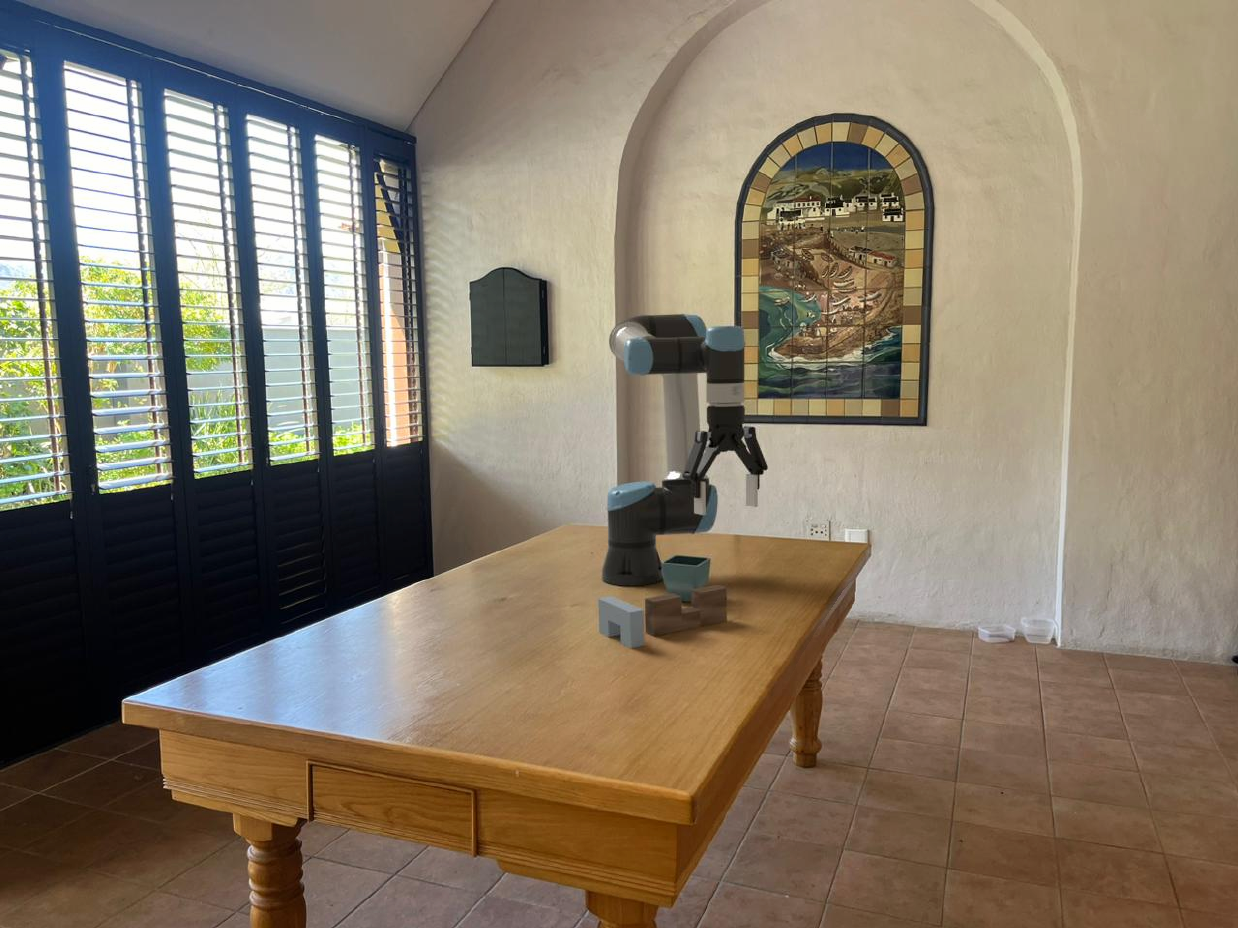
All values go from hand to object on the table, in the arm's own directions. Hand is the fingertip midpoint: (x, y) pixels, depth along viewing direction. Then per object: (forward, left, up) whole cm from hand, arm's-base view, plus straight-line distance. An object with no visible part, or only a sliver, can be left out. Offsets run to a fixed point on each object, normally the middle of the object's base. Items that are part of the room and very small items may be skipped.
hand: (726, 510), depth 189 cm
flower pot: (-20, +4, -24) cm, 31 cm away
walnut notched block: (-3, -8, -24) cm, 25 cm away
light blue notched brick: (-4, -23, -24) cm, 33 cm away
